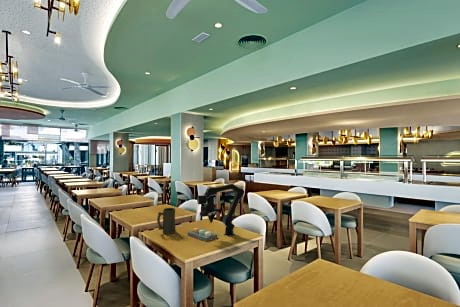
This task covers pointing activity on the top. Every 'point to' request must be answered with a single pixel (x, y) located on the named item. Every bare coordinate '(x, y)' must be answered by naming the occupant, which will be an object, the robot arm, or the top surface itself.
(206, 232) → the button cream
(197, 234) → the console
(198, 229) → the button orange
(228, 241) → the top surface
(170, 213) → the beer stein
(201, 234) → the button teal
